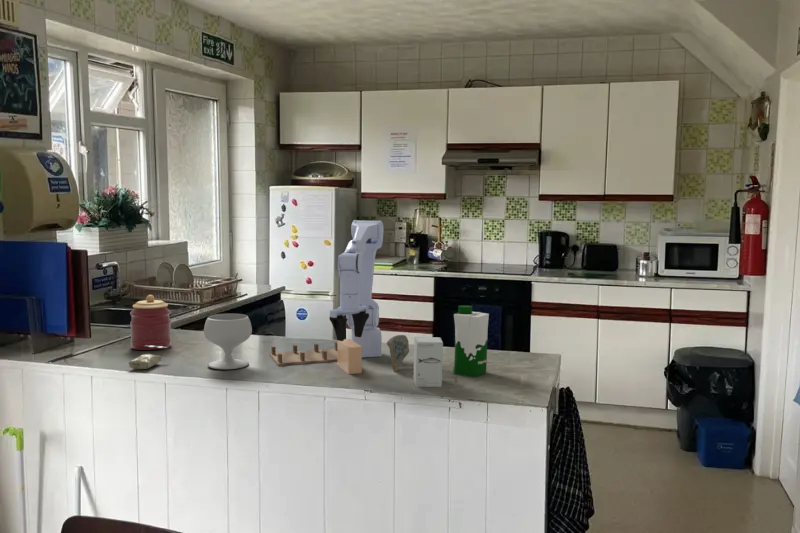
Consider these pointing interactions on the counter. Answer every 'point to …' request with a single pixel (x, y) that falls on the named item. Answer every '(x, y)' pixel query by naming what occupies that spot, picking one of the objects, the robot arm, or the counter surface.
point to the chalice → (227, 337)
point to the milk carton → (470, 342)
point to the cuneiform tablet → (145, 360)
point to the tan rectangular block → (349, 356)
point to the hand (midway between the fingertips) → (349, 338)
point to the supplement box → (428, 361)
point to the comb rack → (303, 356)
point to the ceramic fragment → (398, 350)
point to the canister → (150, 324)
